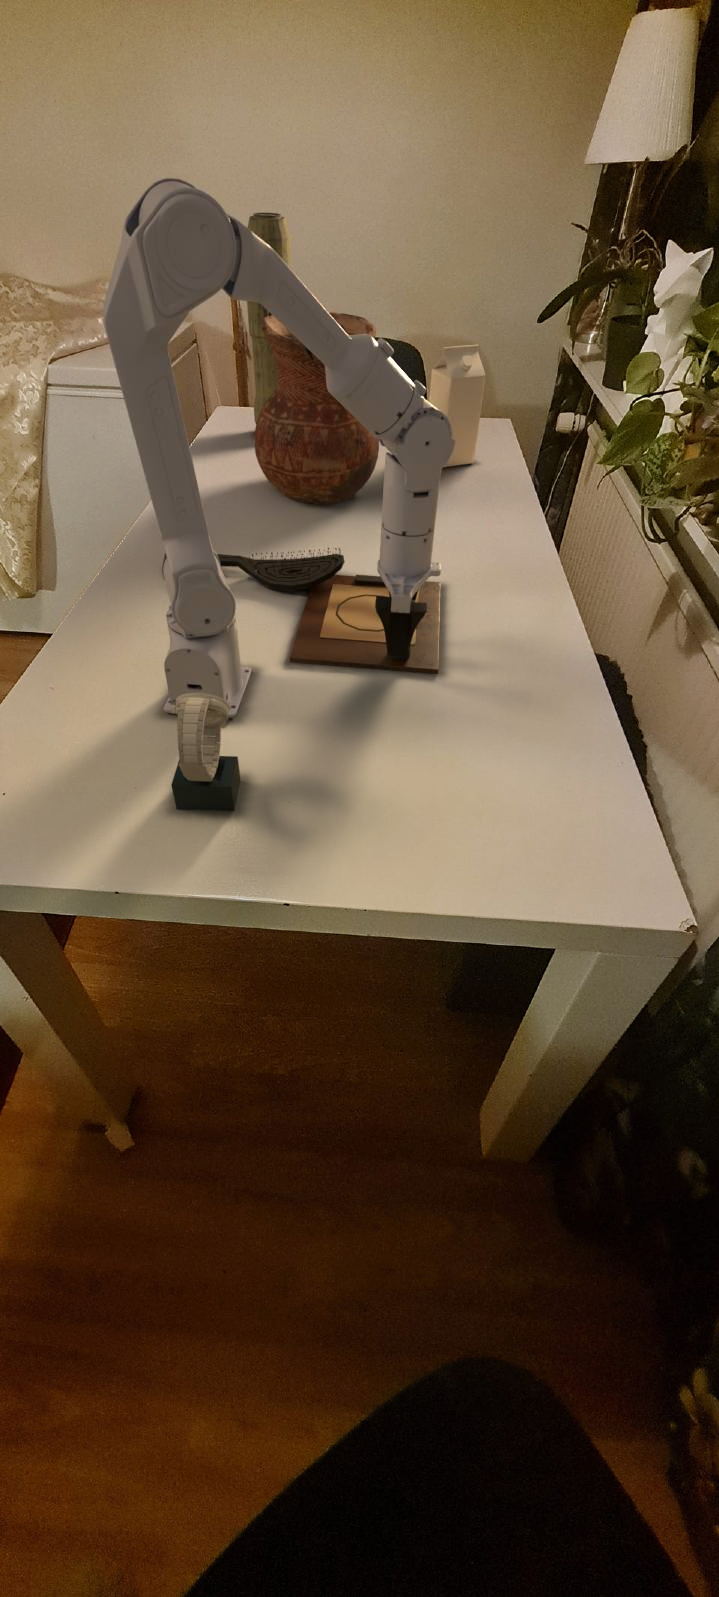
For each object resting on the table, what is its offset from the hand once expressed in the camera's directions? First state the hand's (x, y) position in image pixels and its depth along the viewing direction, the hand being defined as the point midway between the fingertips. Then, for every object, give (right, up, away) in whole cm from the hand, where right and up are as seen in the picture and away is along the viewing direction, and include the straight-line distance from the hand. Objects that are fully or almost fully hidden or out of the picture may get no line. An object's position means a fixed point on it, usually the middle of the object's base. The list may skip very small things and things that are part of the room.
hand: (399, 636), depth 85 cm
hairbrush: (-19, +12, +16) cm, 28 cm away
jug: (-12, +35, +40) cm, 55 cm away
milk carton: (+13, +46, +53) cm, 71 cm away
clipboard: (-3, +4, +8) cm, 10 cm away
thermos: (-22, +55, +60) cm, 84 cm away
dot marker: (0, -2, +2) cm, 3 cm away
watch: (-19, -19, -16) cm, 31 cm away
